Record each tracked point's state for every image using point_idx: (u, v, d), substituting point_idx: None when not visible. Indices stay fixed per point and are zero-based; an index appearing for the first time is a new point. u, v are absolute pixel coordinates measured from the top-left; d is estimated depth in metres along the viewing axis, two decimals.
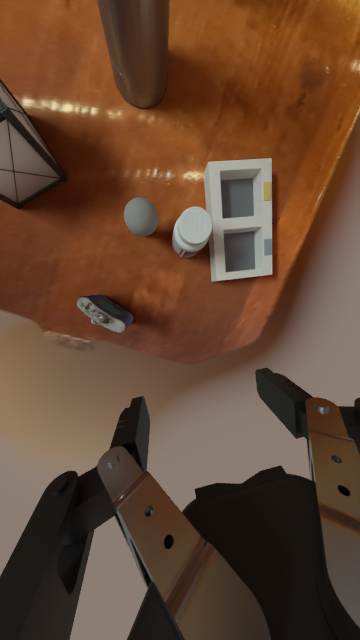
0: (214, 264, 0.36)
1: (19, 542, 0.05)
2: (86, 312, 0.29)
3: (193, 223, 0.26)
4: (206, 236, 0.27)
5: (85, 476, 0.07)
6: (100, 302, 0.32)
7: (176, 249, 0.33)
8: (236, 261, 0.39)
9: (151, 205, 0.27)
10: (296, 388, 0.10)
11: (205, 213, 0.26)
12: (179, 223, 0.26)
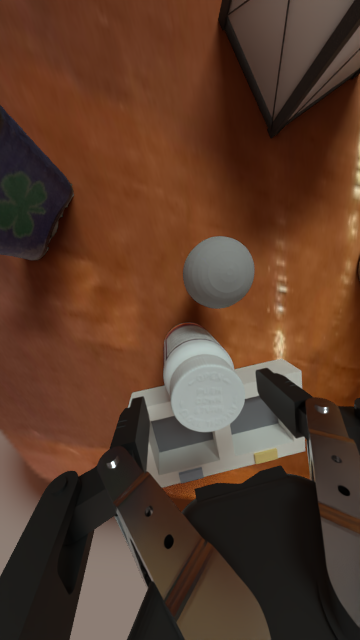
0: (155, 401, 0.21)
1: (19, 542, 0.05)
2: None
3: (212, 394, 0.12)
4: (188, 425, 0.12)
5: (86, 476, 0.07)
6: (23, 177, 0.13)
7: (171, 338, 0.18)
8: (168, 424, 0.24)
9: (241, 295, 0.13)
10: (296, 388, 0.10)
11: (233, 415, 0.12)
12: (209, 366, 0.11)
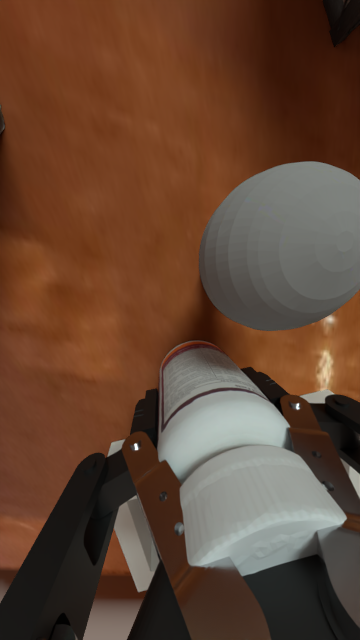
0: None
1: (54, 509, 0.06)
2: None
3: None
4: None
5: (110, 459, 0.08)
6: None
7: (171, 372, 0.11)
8: None
9: (339, 306, 0.05)
10: (275, 386, 0.11)
11: None
12: (290, 517, 0.04)
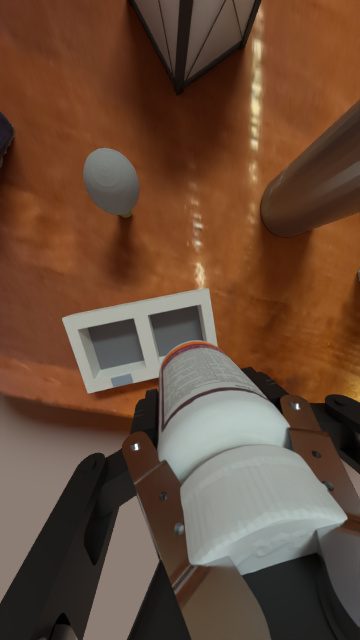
0: (88, 312, 0.25)
1: (54, 509, 0.06)
2: None
3: None
4: None
5: (110, 458, 0.08)
6: None
7: (171, 372, 0.11)
8: (107, 343, 0.29)
9: (123, 194, 0.17)
10: (275, 386, 0.10)
11: None
12: (290, 516, 0.04)
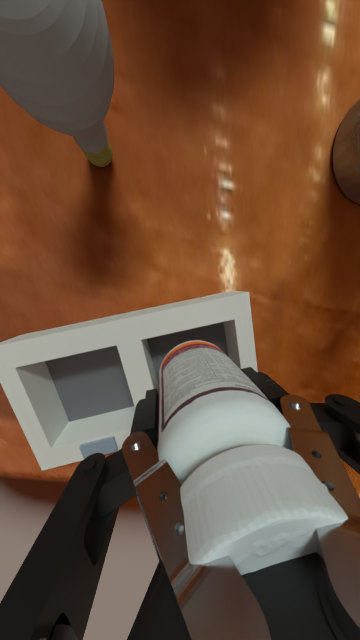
0: (35, 336, 0.14)
1: (54, 509, 0.06)
2: None
3: None
4: None
5: (110, 458, 0.08)
6: None
7: (171, 372, 0.11)
8: (77, 382, 0.18)
9: (62, 38, 0.06)
10: (275, 386, 0.10)
11: None
12: (290, 516, 0.04)
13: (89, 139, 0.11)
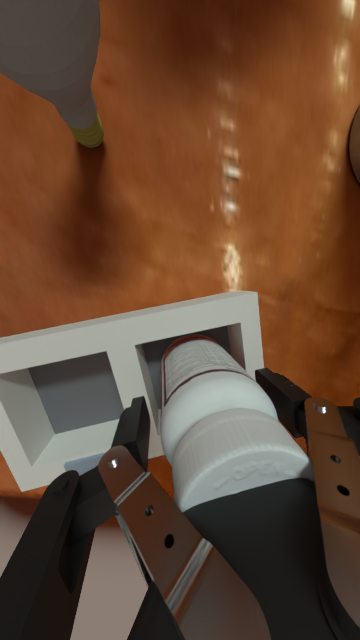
0: (12, 340, 0.12)
1: (21, 540, 0.05)
2: None
3: None
4: None
5: (87, 475, 0.07)
6: None
7: (171, 361, 0.12)
8: (64, 390, 0.16)
9: None
10: (295, 388, 0.10)
11: None
12: (258, 449, 0.05)
13: (74, 109, 0.09)
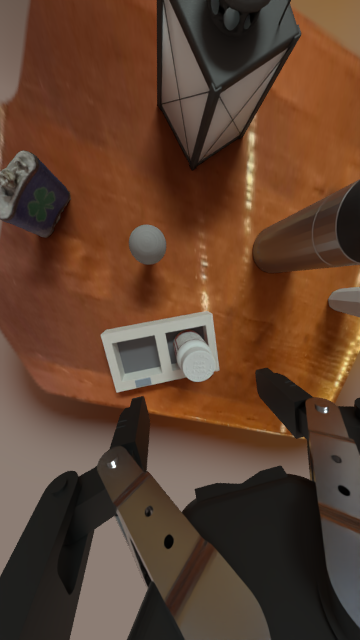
0: (119, 330, 0.33)
1: (19, 542, 0.05)
2: (13, 163, 0.21)
3: (200, 364, 0.26)
4: (189, 378, 0.27)
5: (85, 476, 0.07)
6: (44, 189, 0.25)
7: (179, 339, 0.33)
8: (130, 353, 0.36)
9: (156, 255, 0.25)
10: (296, 388, 0.10)
11: (210, 374, 0.27)
12: (199, 351, 0.26)
13: None
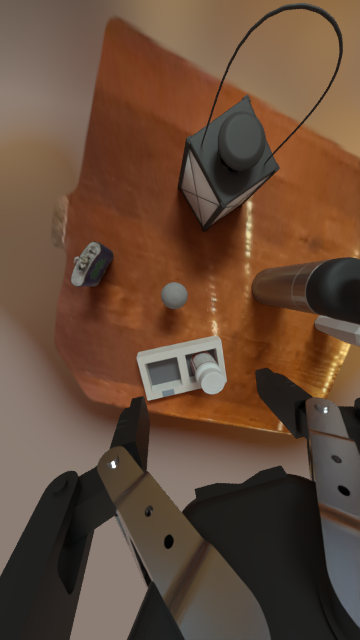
0: (150, 353, 0.43)
1: (19, 542, 0.05)
2: (86, 250, 0.32)
3: (214, 381, 0.36)
4: (206, 391, 0.37)
5: (85, 476, 0.07)
6: (101, 260, 0.35)
7: (196, 359, 0.43)
8: (157, 369, 0.47)
9: (181, 304, 0.35)
10: (296, 388, 0.10)
11: (221, 388, 0.37)
12: (213, 372, 0.36)
13: None
